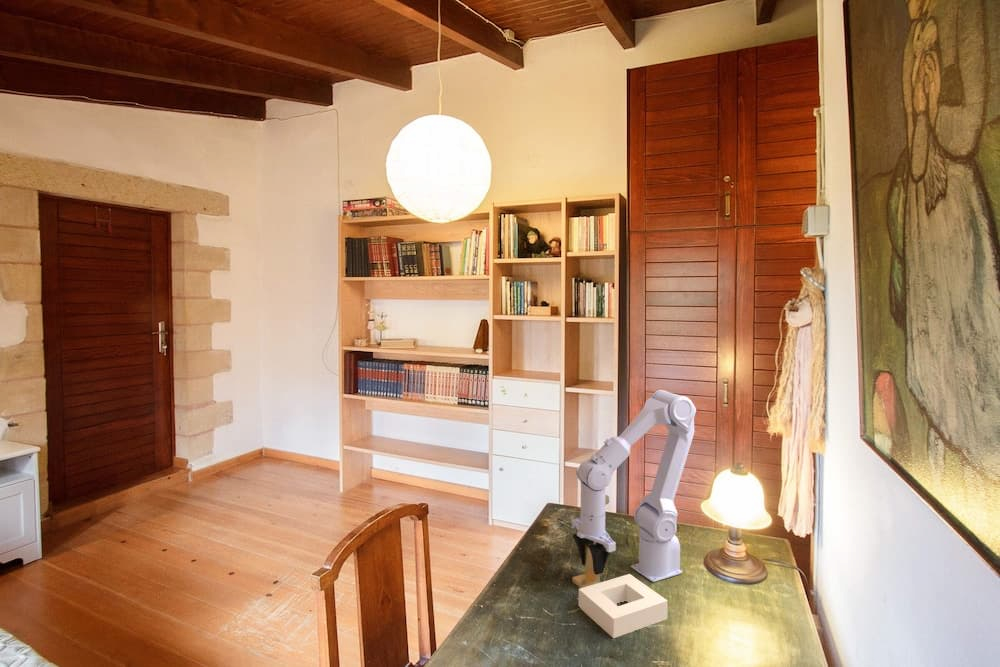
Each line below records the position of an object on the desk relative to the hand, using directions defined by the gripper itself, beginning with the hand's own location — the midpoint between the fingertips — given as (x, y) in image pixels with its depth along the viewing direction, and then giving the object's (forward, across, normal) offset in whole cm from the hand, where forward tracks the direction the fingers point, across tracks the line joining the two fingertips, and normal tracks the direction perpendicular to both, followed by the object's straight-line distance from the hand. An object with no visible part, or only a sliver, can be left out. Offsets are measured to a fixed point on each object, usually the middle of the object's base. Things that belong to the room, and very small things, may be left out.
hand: (592, 568), depth 126 cm
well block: (+3, +13, -2) cm, 13 cm away
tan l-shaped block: (+3, 0, -2) cm, 4 cm away
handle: (+3, -11, +9) cm, 15 cm away
